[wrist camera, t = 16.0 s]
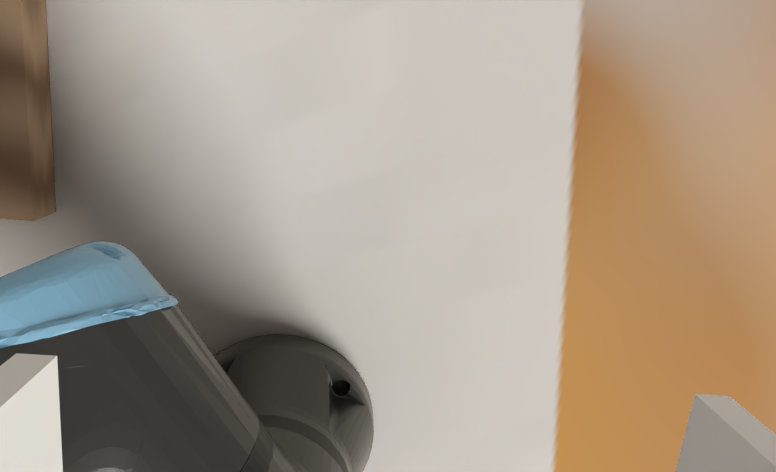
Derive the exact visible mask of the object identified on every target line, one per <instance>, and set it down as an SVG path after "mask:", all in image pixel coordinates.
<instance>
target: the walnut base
mask: <svg viewBox="0 0 776 472" xmlns="http://www.w3.org/2000/svg"><path fill="white" fill-rule="evenodd" d="M55 211H56V207H55V186H54V165H53V144H52V123H51V102H50V81H49V60H48V39H47V18H46V0H0V218H5V219H18V220H31V221H34V220H36V219H39V218H41V217H43V216H46V215H48V214H51V213H53V212H55Z"/></svg>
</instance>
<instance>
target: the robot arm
mask: <svg viewBox="0 0 776 472" xmlns="http://www.w3.org/2000/svg"><path fill="white" fill-rule="evenodd" d="M178 303H179V302H178V301H177V299H176V298H175V297H174V296H171V295H168V293H167V292H166V291H165V290H164V289H163V287H162V286H161V285H160V284H159V283H158V282H157V280H156V279H155V278H154V277H153V276H152V275H151V273H150V272H149V271H148V270H147V269H146V267H145V266H144V265H143V264H142V263H141V261H140V260H139V259H138V258H137V256H136V255H135V254H134V253H133V252H132V251H130V250H129V249H127V248H126V247H124V246H122V245H119V244H117V243H112V242H105V241H97V242H90V243H86V244H83V245H80V246H77V247H74V248H71V249H69V250H66V251H63V252H61V253H58V254H56V255H53V256H50V257H48V258H46V259H43V260H41V261H38V262H36V263H33V264H31V265H29V266H26V267H24V268H21V269H19V270H17V271H14V272H12V273H10V274H7V275H5V276H3V277H0V472H363V470H364V468H365V466H366V464H367V461H368V459H369V456H370V452H371V448H372V443H373V432H374V430H373V411H372V404H371V400H370V396H369V393H368V390H367V388H366V386H365V384H364V382H363V380H362V378H361V377H360V375H359V374H358V373H357V371H356V370H355V369H354V368H353V366H352V365H351V364H350V363H349V362H348V361H347V360H345V359H344V358H343V357H342V356H341V355H339V354H338V353H337V352H335V351H334V350H332V349H330V348H328V347H327V346H325V345H323V344H320V343H318V342H315V341H313V340H310V339H306V338H302V337H298V336H291V335H266V336H259V337H254V338H250V339H247V340H244V341H241V342H239V343H236V344H234V345H232V346H230V347H228V348H227V349H225V350H223V351H222V352H220V353H219V354H218V355H216V356H215V357H214V356H213V355H212V353H211V352H210V351H209V349H208V348H207V347H206V345H205V344H204V342H203V341H202V340H201V338H200V337H199V335H198V334H197V333H196V331H195V330H194V328H193V327H192V326H191V324H190V323H189V321H188V320H187V319H186V317H185V316H184V314H183V313H182V312H181V310H180V309H179V307H178V306H177V305H176V304H178ZM675 472H776V435H775V434H774V433H773V432H772V431H771V430H769V429H768V428H767V427H766V426H765V425H763V424H762V423H761V422H760V421H759V420H757V419H756V418H755V417H754V416H752V415H751V414H750V413H749V412H748V411H746V410H745V409H744V408H743V407H742V406H740V405H739V404H738V403H737V402H735V401H734V400H733V399H732V398H731V397H730V396H722V395H706V394H695V396H694V400H693V404H692V408H691V411H690V415H689V419H688V423H687V427H686V431H685V435H684V439H683V443H682V447H681V451H680V455H679V459H678V463H677V467H676V471H675Z"/></svg>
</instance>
